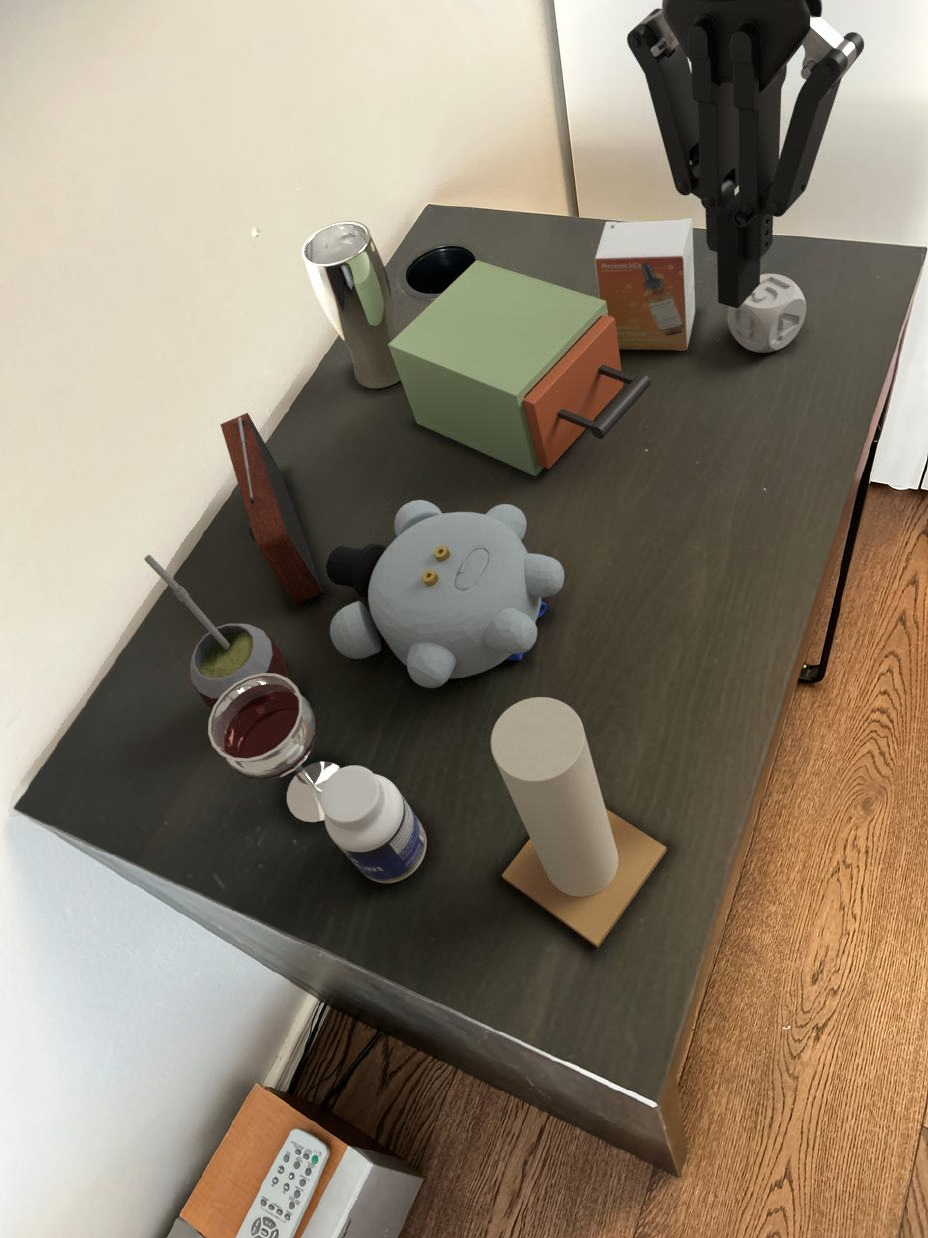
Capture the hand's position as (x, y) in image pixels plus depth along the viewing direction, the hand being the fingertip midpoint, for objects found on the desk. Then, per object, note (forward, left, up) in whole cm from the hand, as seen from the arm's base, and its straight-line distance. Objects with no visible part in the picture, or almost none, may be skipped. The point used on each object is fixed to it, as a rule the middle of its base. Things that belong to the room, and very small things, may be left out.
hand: (739, 292), depth 64 cm
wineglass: (+12, +40, -21) cm, 47 cm away
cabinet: (+24, 0, -20) cm, 32 cm away
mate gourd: (+22, +37, -21) cm, 48 cm away
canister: (-8, +33, -20) cm, 39 cm away
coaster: (-8, +33, -20) cm, 40 cm away
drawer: (+20, 0, -19) cm, 28 cm away
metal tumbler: (+40, +2, -21) cm, 45 cm away
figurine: (+14, +22, -21) cm, 33 cm away
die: (+8, -18, -21) cm, 29 cm away
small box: (+18, -14, -21) cm, 31 cm away
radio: (+32, +24, -21) cm, 45 cm away
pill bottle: (+4, +40, -21) cm, 45 cm away
